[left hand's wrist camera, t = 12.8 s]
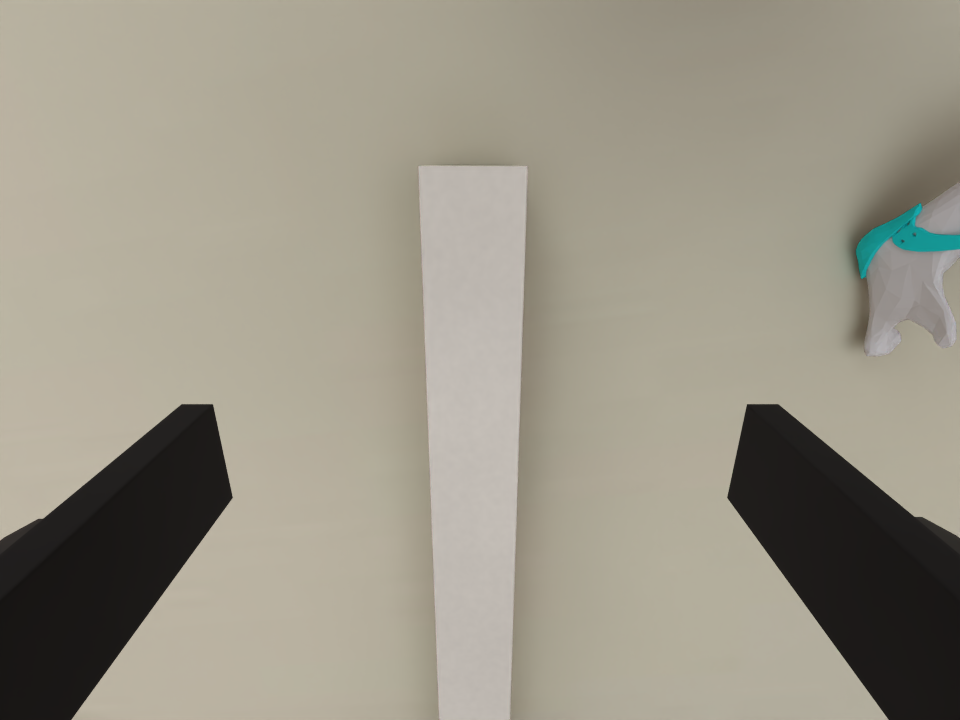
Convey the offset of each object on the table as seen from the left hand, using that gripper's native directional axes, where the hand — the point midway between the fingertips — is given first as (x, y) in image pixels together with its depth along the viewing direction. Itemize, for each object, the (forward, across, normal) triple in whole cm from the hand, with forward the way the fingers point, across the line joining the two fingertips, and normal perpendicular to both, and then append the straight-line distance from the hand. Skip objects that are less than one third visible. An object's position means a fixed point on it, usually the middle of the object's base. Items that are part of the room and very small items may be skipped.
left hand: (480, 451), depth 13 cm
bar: (+19, 0, -29) cm, 35 cm away
